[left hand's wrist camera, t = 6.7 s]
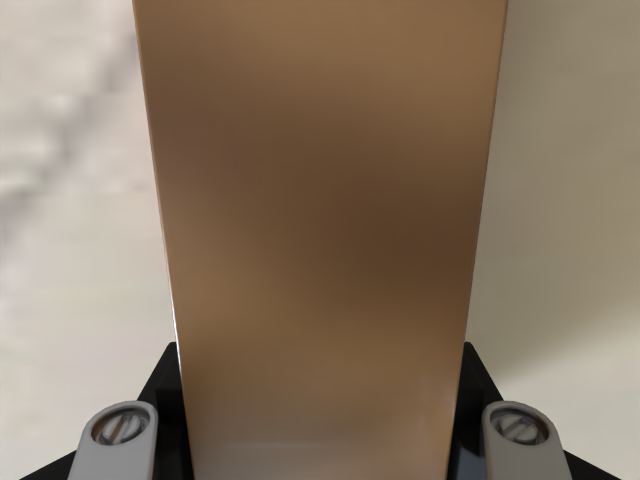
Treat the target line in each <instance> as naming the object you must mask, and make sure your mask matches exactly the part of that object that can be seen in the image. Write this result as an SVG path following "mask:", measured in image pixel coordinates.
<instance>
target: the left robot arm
mask: <svg viewBox="0 0 640 480" xmlns="http://www.w3.org/2000/svg"><path fill="white" fill-rule="evenodd" d="M19 480H194V476H193V468H192V461H191V453H190V445H189V437H188V430H187V422H186V414H185V406H184V399H183V391H182V383H181V375H180V368H179V360H178V352H177V344H176V342H171V343H169V345H168V346H167V348H166V349H165V351H164V353H163V355H162V356H161V358H160V360H159V362H158V363H157V365H156V367H155V369H154V371H153V372H152V374H151V376H150V378H149V379H148V381H147V383H146V385H145V386H144V388H143V390H142V392H141V393H140V395H139V397H138V399H137V401H125V402H121V403H117V404H114V405H112V406H109V407H107V408H105V409H103V410H102V411H100V412H99V413H97V414H96V415H94V416H93V417H92V418H91V420H90V421H89V422H88V423H87V424H86V426H85V428H84V430H83V432H82V435H81V439H80V442H79V445H78V448H77V450H75V451H73V452H71V453H69V454H68V455H66V456H64V457H62V458H60V459H58V460H56V461H54V462H52V463H50V464H48V465H46V466H44V467H43V468H41V469H39V470H37V471H35V472H33V473H31V474H29V475H27V476H25V477H23V478H21V479H19ZM446 480H621V479H619V478H617V477H615V476H613V475H611V474H609V473H607V472H605V471H603V470H602V469H600V468H598V467H596V466H594V465H592V464H590V463H588V462H586V461H584V460H582V459H580V458H579V457H577V456H575V455H573V454H571V453H569V452H567V451H565V450H563V448H562V445H561V442H560V439H559V435H558V432H557V430H556V428H555V426H554V424H553V423H552V422H551V421H550V420H549V418H548V417H547V416H546V415H544V414H543V413H541V412H540V411H538V410H537V409H535V408H533V407H531V406H528V405H526V404H523V403H519V402H515V401H504V400H503V398H502V396H501V395H500V393H499V391H498V389H497V388H496V386H495V384H494V382H493V380H492V379H491V377H490V375H489V373H488V372H487V370H486V368H485V366H484V365H483V363H482V361H481V359H480V358H479V356H478V354H477V352H476V350H475V349H474V347H473V345H472V344H471V343H470V342H464V348H463V355H462V363H461V371H460V379H459V386H458V394H457V402H456V409H455V417H454V425H453V433H452V440H451V448H450V456H449V464H448V471H447V479H446Z"/></svg>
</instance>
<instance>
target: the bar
mask: <svg viewBox="0 0 640 480" xmlns="http://www.w3.org/2000/svg"><path fill="white" fill-rule="evenodd" d="M508 1H509V0H132V4H133V12H134V19H135V27H136V35H137V43H138V50H139V58H140V66H141V74H142V81H143V89H144V97H145V105H146V112H147V120H148V128H149V136H150V143H151V151H152V159H153V166H154V174H155V182H156V190H157V197H158V205H159V213H160V221H161V228H162V236H163V244H164V252H165V259H166V267H167V275H168V283H169V290H170V298H171V306H172V314H173V321H174V329H175V337H176V344H177V352H178V360H179V368H180V375H181V383H182V391H183V399H184V406H185V414H186V422H187V430H188V437H189V445H190V453H191V461H192V468H193V476H194V480H446V479H447V471H448V464H449V456H450V448H451V440H452V433H453V425H454V417H455V409H456V402H457V394H458V386H459V379H460V371H461V363H462V355H463V348H464V340H465V332H466V325H467V317H468V309H469V301H470V294H471V286H472V278H473V271H474V263H475V255H476V247H477V240H478V232H479V224H480V217H481V209H482V201H483V193H484V186H485V178H486V170H487V163H488V155H489V147H490V139H491V132H492V124H493V116H494V109H495V101H496V93H497V85H498V78H499V70H500V62H501V55H502V47H503V39H504V31H505V24H506V16H507V8H508Z"/></svg>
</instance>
